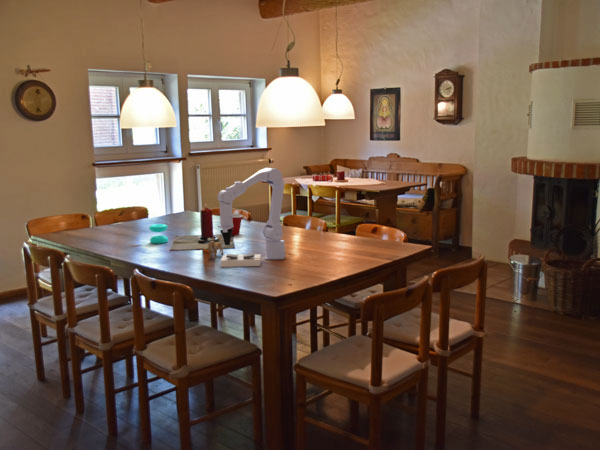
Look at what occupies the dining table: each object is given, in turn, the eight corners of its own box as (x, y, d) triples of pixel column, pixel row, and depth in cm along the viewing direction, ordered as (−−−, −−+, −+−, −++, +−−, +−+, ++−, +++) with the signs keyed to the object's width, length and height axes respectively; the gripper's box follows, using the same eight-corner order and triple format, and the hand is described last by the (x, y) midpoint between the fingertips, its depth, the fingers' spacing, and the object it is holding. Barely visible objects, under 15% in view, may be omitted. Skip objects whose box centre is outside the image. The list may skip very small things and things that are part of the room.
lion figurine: (216, 260, 277) (216, 242, 275) (206, 259, 278) (205, 241, 276) (224, 253, 291) (224, 236, 290) (214, 253, 292) (213, 236, 290)
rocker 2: (254, 256, 268) (254, 252, 268) (254, 258, 265) (253, 254, 264) (244, 257, 269) (243, 254, 268) (243, 259, 265) (243, 256, 264)
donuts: (170, 224, 323) (159, 227, 314) (172, 241, 324) (160, 244, 316) (157, 223, 327) (145, 225, 319) (158, 240, 329) (146, 243, 320)
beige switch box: (260, 260, 275) (260, 253, 274) (259, 265, 264) (259, 259, 263) (223, 261, 274) (223, 254, 274) (220, 266, 263) (220, 260, 263)
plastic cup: (242, 235, 336) (241, 215, 334) (224, 236, 336) (223, 216, 334) (244, 232, 347) (244, 213, 345) (227, 232, 347) (226, 213, 345)
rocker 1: (237, 257, 268) (237, 254, 268) (236, 259, 265) (237, 256, 264) (227, 256, 268) (227, 253, 268) (226, 258, 264) (226, 255, 264)
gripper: (219, 213, 270) (220, 241, 273) (215, 218, 256) (216, 248, 258) (234, 213, 271) (235, 241, 273) (231, 218, 256) (232, 248, 259)
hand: (227, 244), depth 266 cm, fingers closed
